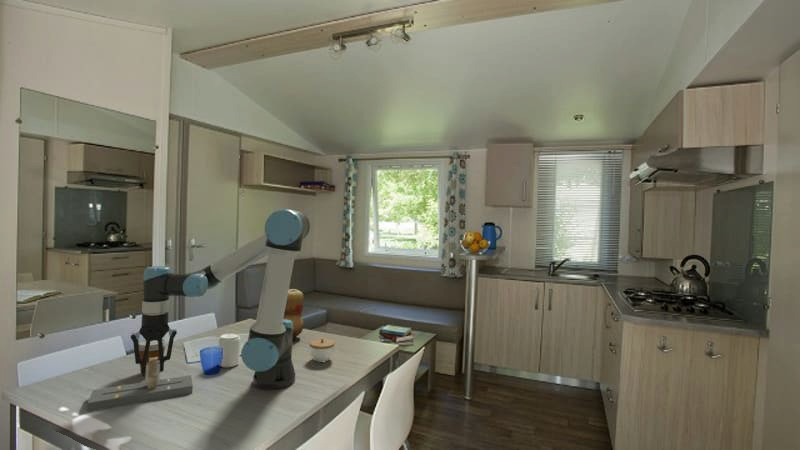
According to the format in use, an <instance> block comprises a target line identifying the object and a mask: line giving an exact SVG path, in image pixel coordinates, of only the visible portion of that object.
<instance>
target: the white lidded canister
mask: <svg viewBox="0 0 800 450" xmlns="http://www.w3.org/2000/svg"><path fill="white" fill-rule="evenodd" d="M219 347H221V348H223V361H222V367H221V368H232V367H235V366H237V365H239V364H240V356H241V337H240V334H239V333H235V332H232V333H224V334H222V335H220V337H219V339H218V348H219Z"/></svg>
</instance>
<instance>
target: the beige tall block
mask: <svg viewBox="0 0 800 450" xmlns="http://www.w3.org/2000/svg"><path fill="white" fill-rule="evenodd" d="M157 362H158V357H153V358H149V371H148V389H154V388H156V384H157Z"/></svg>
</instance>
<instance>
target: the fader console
mask: <svg viewBox="0 0 800 450" xmlns="http://www.w3.org/2000/svg"><path fill="white" fill-rule="evenodd" d="M188 394H193V380H192V375H191V374H189V375H182V376H175V377H170V378H162V379H159V383H157V384H156V388H154V389H148V384H147V385H145V381H142V382H136V383H129V384H123V385H117V386H110V387H103V388H96V389H92V392H91V394H90V397H89V399H88V401H87V407H86V408H87V409H86V411H87V412H91V411H97V410H102V409H107V408H114V407H120V406H125V405H131V404H138V403H142V402H148V401H154V400H160V399H166V398H171V397H172V398H173V397H177V396H183V395H188Z"/></svg>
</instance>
